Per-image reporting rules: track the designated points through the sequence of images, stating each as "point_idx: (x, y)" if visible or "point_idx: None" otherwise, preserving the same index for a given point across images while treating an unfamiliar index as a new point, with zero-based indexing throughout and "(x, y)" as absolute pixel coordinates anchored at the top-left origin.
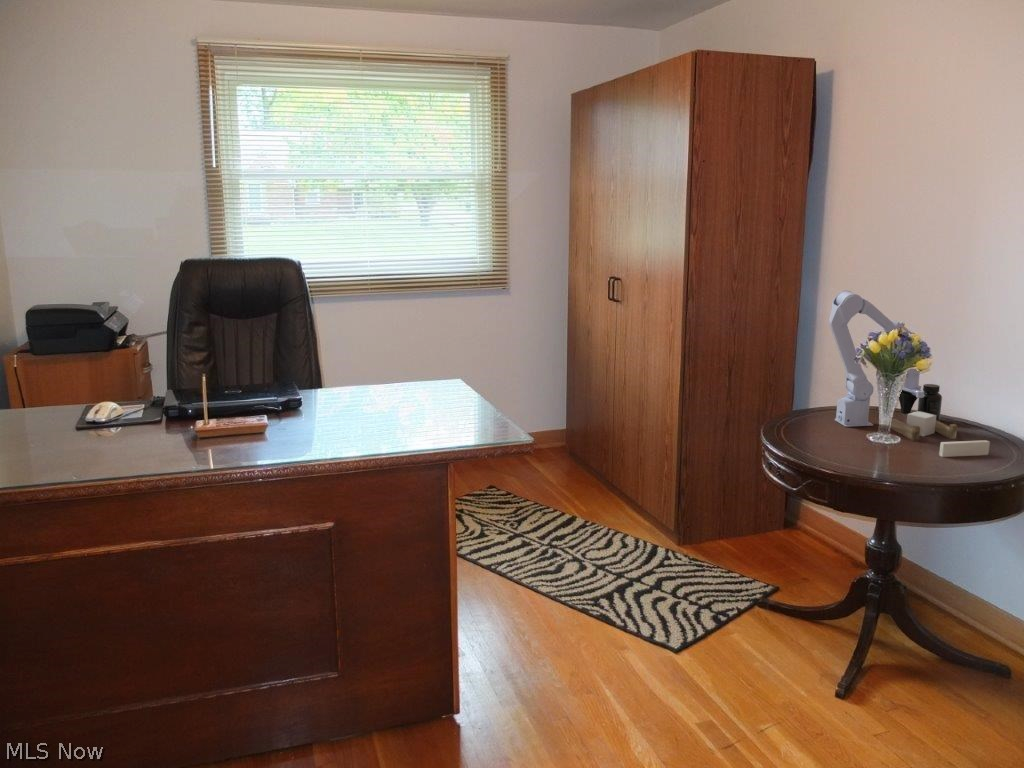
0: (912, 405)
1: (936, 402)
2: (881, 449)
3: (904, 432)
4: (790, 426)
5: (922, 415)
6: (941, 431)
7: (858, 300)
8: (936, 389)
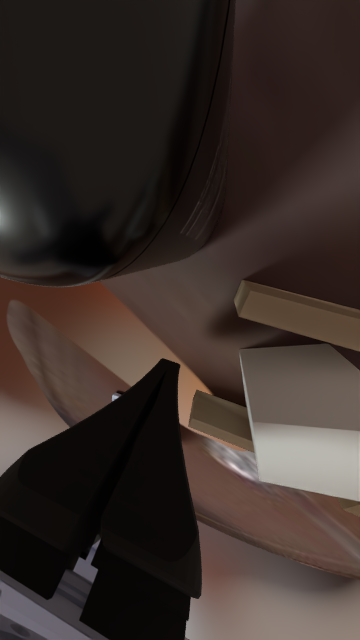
0: (177, 408)
1: (221, 113)
2: (305, 506)
3: None
4: None
5: (337, 475)
6: None
7: None
8: None
